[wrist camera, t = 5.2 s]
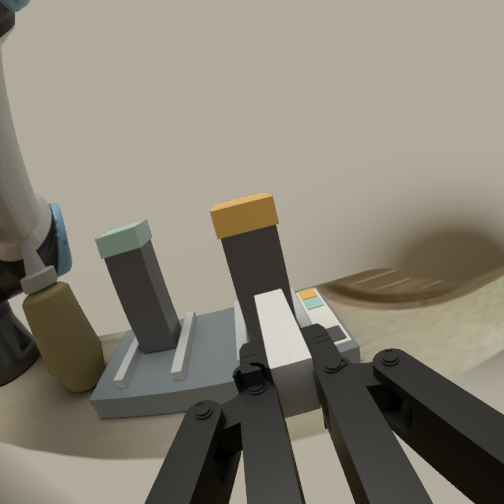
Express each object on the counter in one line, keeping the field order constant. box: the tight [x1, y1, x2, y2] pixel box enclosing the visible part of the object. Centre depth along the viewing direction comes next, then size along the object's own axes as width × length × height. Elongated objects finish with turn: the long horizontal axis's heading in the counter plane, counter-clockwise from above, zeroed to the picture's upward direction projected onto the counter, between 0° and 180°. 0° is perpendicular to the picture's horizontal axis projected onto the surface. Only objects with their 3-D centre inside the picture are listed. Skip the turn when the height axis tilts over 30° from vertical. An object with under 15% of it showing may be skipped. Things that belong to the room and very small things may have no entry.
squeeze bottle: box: [20, 240, 106, 392], centre depth 28 cm, size 8×8×18 cm
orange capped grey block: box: [210, 192, 298, 342], centre depth 24 cm, size 4×4×13 cm
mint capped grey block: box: [95, 220, 182, 353], centre depth 30 cm, size 4×4×13 cm
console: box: [89, 286, 360, 418], centre depth 29 cm, size 25×14×4 cm, turn 94°
